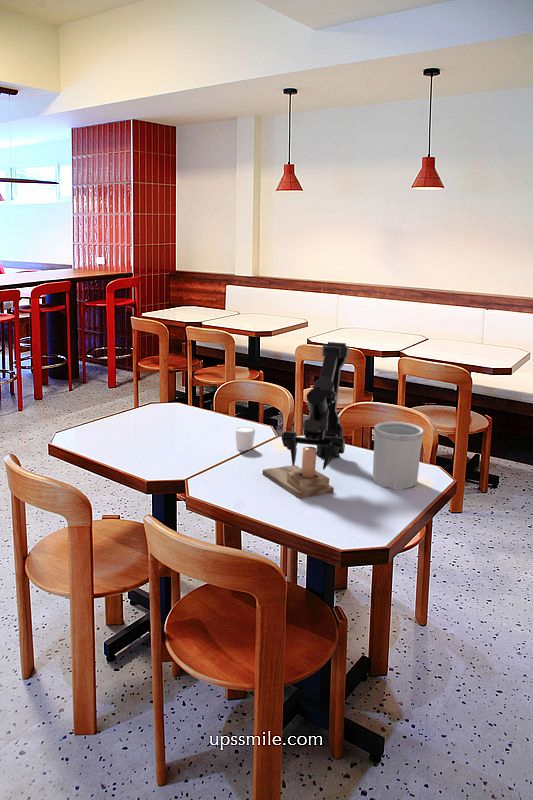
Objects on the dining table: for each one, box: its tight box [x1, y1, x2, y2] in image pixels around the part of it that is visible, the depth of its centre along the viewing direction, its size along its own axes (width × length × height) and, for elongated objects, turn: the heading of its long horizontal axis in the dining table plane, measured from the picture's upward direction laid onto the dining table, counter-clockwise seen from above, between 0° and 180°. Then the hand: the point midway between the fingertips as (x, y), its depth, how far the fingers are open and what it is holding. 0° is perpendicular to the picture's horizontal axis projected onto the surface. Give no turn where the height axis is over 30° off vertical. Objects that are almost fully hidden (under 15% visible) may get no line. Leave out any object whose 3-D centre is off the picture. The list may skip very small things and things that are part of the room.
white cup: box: [235, 426, 256, 452], centre depth 239 cm, size 7×7×7 cm
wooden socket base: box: [262, 464, 335, 499], centre depth 207 cm, size 12×22×4 cm, turn 29°
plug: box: [301, 446, 317, 479], centre depth 201 cm, size 4×4×11 cm
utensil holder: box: [372, 421, 425, 490], centre depth 210 cm, size 15×15×18 cm
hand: (308, 467), depth 200 cm, fingers open, 9 cm apart
